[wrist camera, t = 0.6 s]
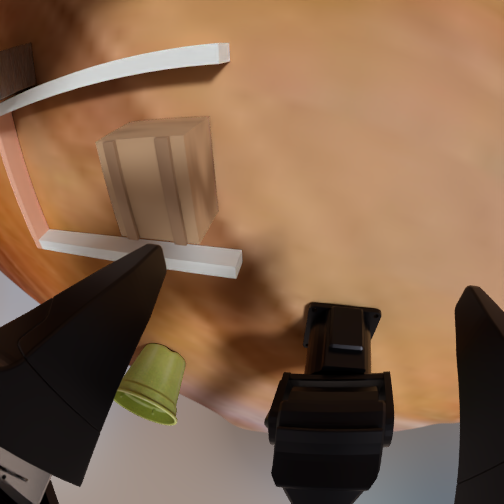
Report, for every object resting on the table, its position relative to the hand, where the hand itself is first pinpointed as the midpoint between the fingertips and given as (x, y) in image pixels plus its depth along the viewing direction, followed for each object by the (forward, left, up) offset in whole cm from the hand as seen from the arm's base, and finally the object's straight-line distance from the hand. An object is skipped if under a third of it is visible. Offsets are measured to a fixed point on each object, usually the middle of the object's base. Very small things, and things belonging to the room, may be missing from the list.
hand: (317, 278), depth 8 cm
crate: (-2, +10, -12) cm, 16 cm away
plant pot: (-29, +18, -12) cm, 36 cm away
